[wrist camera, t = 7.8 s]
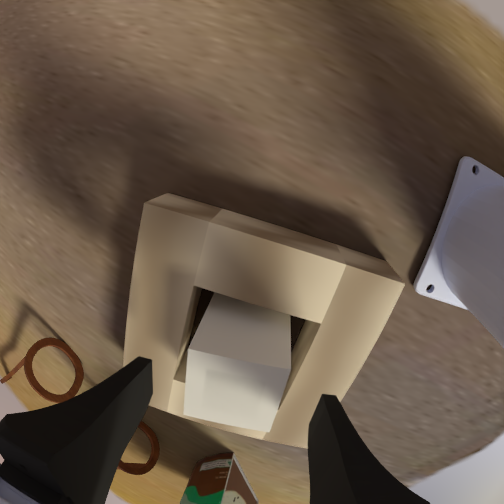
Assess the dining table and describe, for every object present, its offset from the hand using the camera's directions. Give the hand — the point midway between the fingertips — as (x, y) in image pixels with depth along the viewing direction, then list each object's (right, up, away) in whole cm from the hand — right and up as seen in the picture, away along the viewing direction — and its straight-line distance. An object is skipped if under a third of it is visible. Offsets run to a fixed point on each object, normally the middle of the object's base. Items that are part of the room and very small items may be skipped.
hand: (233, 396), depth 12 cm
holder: (+1, +2, +6) cm, 6 cm away
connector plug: (+1, +2, +6) cm, 6 cm away
